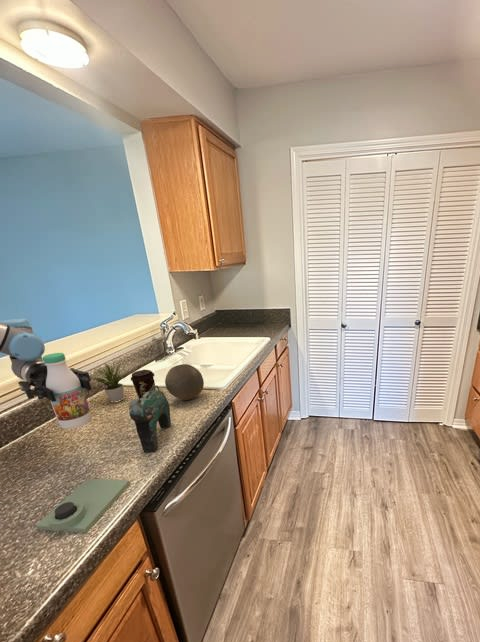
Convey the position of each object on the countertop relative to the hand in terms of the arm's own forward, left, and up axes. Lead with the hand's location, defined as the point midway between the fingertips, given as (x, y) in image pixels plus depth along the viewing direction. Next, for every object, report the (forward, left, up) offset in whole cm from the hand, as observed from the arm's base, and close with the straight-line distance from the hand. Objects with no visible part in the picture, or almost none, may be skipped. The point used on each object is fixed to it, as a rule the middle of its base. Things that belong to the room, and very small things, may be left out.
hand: (71, 390), depth 84 cm
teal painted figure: (+16, +8, -24) cm, 30 cm away
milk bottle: (-2, +4, -11) cm, 12 cm away
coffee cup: (+14, +41, -24) cm, 50 cm away
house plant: (+2, +51, -24) cm, 57 cm away
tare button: (-3, -22, -21) cm, 30 cm away
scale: (0, -17, -24) cm, 29 cm away
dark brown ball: (+29, +35, -24) cm, 51 cm away
